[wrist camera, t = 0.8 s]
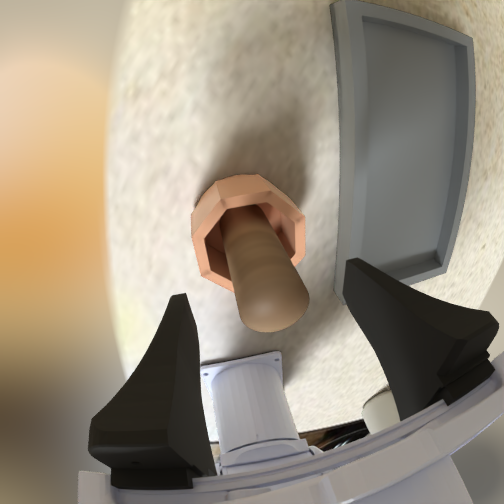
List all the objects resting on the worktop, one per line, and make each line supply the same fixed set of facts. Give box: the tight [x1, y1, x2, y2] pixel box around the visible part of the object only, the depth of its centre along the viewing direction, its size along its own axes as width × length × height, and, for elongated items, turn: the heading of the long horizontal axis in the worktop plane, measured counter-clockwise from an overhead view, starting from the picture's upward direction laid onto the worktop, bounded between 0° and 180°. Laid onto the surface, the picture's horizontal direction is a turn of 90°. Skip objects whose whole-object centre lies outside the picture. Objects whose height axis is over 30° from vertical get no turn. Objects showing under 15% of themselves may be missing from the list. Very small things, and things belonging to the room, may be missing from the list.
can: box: [362, 390, 400, 448], centre depth 36 cm, size 8×8×12 cm
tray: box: [330, 0, 476, 305], centre depth 18 cm, size 22×12×2 cm, turn 6°
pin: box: [219, 204, 309, 332], centre depth 15 cm, size 3×3×8 cm
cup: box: [191, 174, 305, 292], centre depth 18 cm, size 6×6×4 cm
